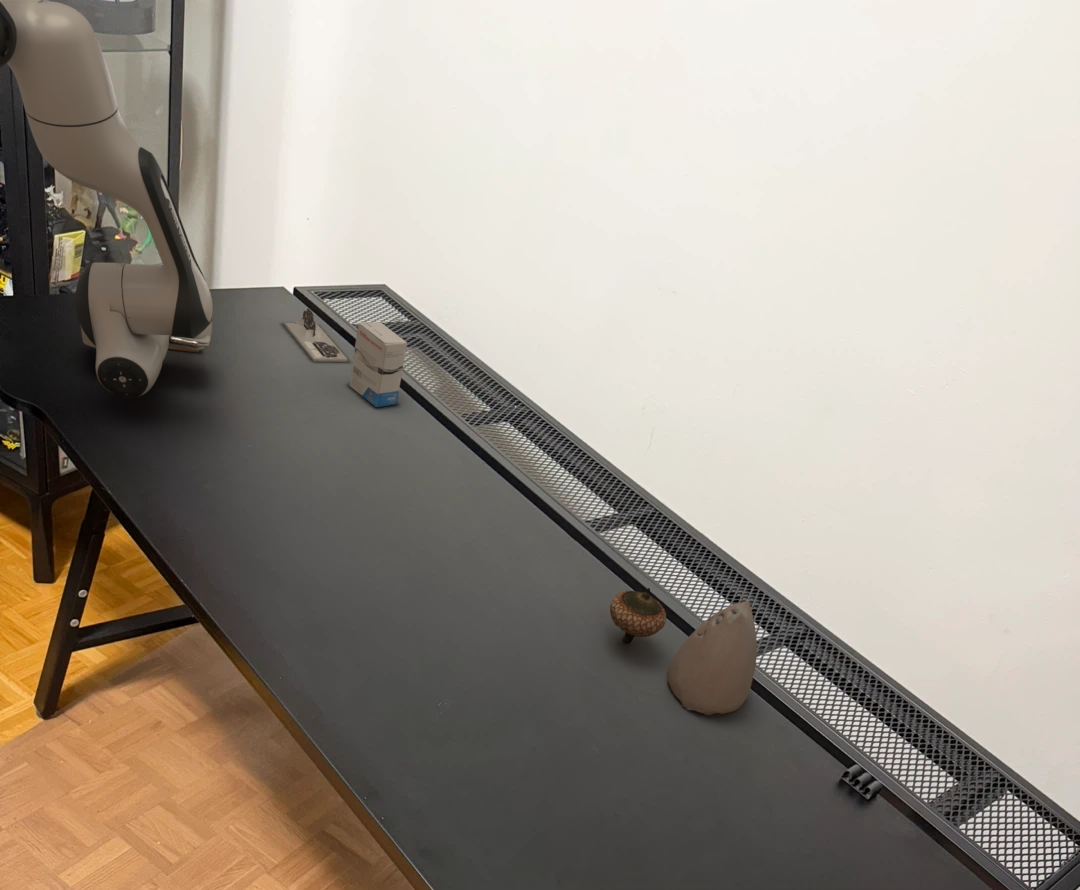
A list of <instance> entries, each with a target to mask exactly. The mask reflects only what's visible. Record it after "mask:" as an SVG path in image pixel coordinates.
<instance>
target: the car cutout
mask: <svg viewBox="0 0 1080 890" xmlns="http://www.w3.org/2000/svg"><path fill="white" fill-rule="evenodd" d="M314 316H315V315H314V312H313V311H312V310H311V309H310V308H306V310H303V313H302V318H298V319H296V322H284V324H283V325H284V327H285V328H286V329H287V330H288V332H289V333H290V334H291V335H292V336H293V338H294V339H295V340H296V342H298V344H299V345H300V347H301V348H302V349H303V350H304V351H305V353H306V354H307V355H308V356H309V357H310V359H311V360H312V361H313V362H314V363H315V362H317V363H318V362H319V363H320V362H321V363H325V362H327V363H336V362H337V363H339V362H340V363H341V362H342V363H347V362H348V361H349V360H348V358H347V356H346V355H344V353H343V352H342V350H340V349H339V348H338V346H337V345H336V344H335V343H334V342H333V340H332V339H331V338H330V336H329V335H327V334H326V332H325V331H324V330H323V329H322V327H321V326H320V325H319V324H318V323H316V321H315V317H314Z"/></svg>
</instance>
